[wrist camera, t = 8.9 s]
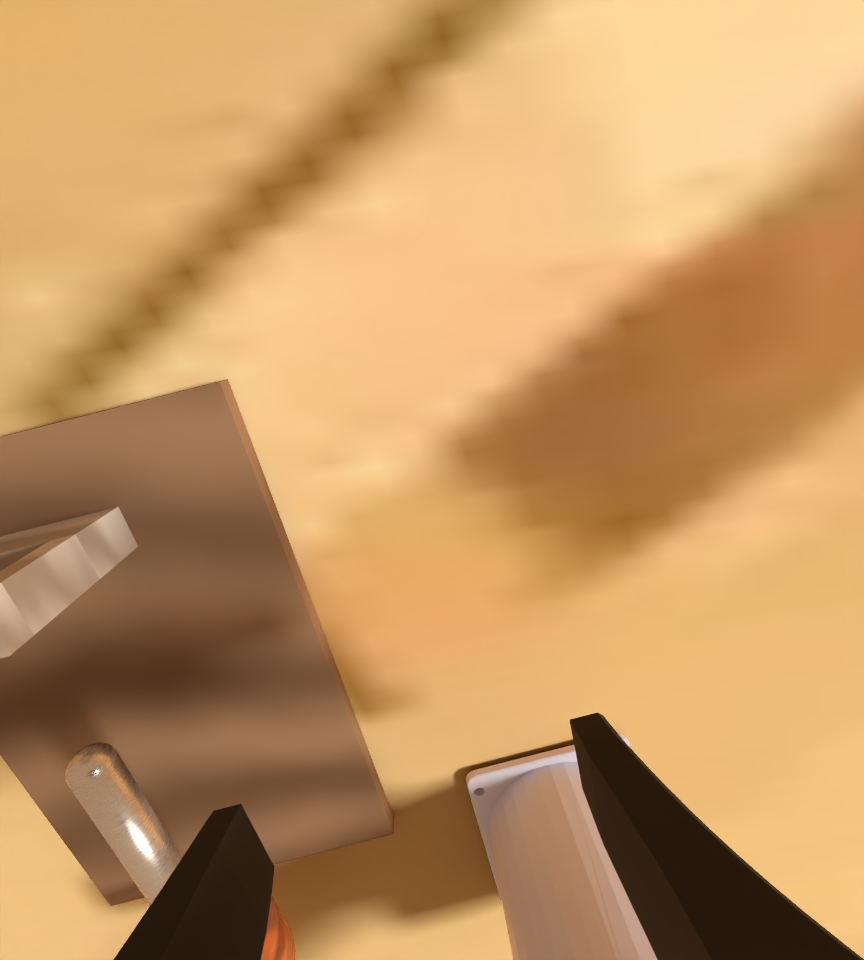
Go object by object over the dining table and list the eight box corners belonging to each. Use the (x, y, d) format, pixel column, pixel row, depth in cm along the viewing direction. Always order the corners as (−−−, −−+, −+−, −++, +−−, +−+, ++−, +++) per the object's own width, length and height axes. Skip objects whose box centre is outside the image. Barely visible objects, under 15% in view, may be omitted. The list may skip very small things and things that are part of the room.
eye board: (393, 816, 23) (393, 1004, 17) (120, 886, 23) (15, 1100, 17) (227, 379, 16) (117, 412, 10) (-168, 479, 16) (-541, 579, 10)
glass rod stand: (304, 899, 21) (279, 1061, 17) (200, 926, 21) (145, 1096, 17) (190, 676, 17) (113, 808, 12) (60, 709, 17) (-68, 854, 12)
